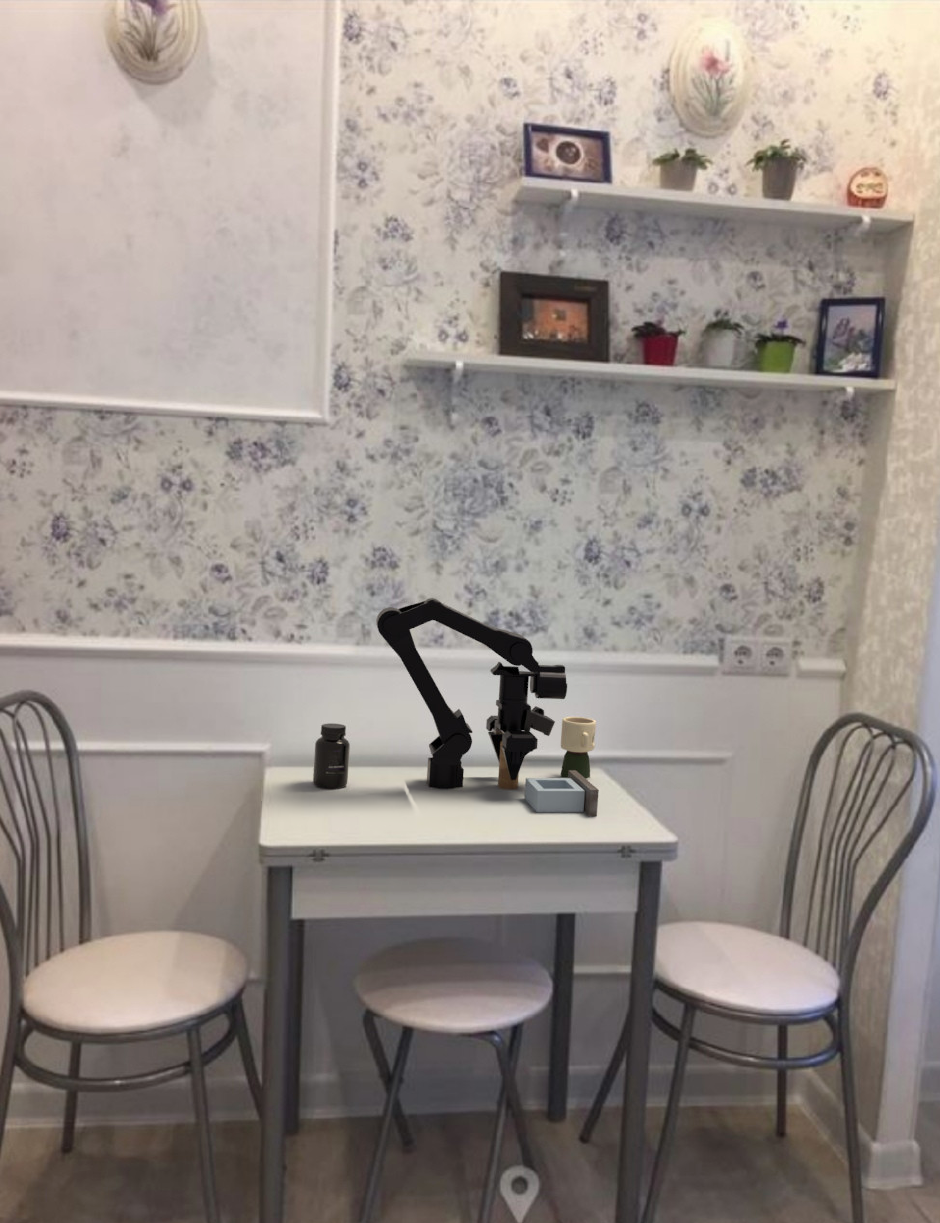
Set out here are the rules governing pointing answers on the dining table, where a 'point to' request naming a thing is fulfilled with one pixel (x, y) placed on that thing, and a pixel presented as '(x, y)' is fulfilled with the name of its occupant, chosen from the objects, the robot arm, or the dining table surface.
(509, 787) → the dowel
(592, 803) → the base board
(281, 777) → the dining table surface
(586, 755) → the character mug
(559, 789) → the sliding block
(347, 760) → the supplement bottle
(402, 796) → the dining table surface
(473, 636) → the robot arm
